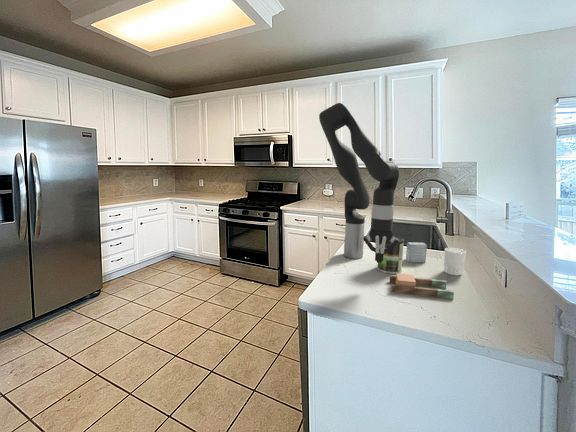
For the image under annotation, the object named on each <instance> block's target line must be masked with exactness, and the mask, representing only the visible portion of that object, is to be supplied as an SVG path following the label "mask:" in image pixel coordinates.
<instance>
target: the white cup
mask: <svg viewBox="0 0 576 432" xmlns="http://www.w3.org/2000/svg"><path fill="white" fill-rule="evenodd" d="M466 255H467V250H465V249H463V248H458V247H445V248H444V256H443V257H444V260H443V265H444V266H443V271H444V273H446V274H448V275H450V276H462V275H463V270H464V267H465V262H466Z"/></svg>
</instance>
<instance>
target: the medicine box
mask: <svg viewBox="0 0 576 432" xmlns="http://www.w3.org/2000/svg"><path fill="white" fill-rule="evenodd" d="M427 250H428V244H426V243H425V242H408V241H407V243H406V251H405V254H406V255H405V259H406V261H407V262H408V263H426V262H427V261H426V260H427V252H428V251H427Z"/></svg>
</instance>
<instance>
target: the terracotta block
mask: <svg viewBox="0 0 576 432" xmlns="http://www.w3.org/2000/svg"><path fill="white" fill-rule="evenodd" d="M395 276H396V281H395V283H394V285H401V286H411V287H417V285H416V281H415V279H414V278H415V277H414V275H413V274H408V273H396V274H395Z"/></svg>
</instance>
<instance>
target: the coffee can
mask: <svg viewBox="0 0 576 432" xmlns="http://www.w3.org/2000/svg"><path fill="white" fill-rule="evenodd" d="M393 237H395V238H396V239H398V243H397V244H396V245H395V246H394V247H393V248H392V249H391V250H390V251H389V252H388V253H387V252H386V253H384V254H383V261H382V262H381V263H377V265H376V266H377V267H376V269H377V270H378V272H381V273H386V274H393V275H394V274H395V275H396V273H398V274H401V273H402V266H403V254H404V243H405V239H404V238H403V237H401V236H395V235H393ZM391 240H392V239H391ZM391 240H390V241H389V242H388V243H387V244H385V248H386V247H387V246H388V245H389V244H390V243H391ZM380 249H381V244H379V252H380Z"/></svg>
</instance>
